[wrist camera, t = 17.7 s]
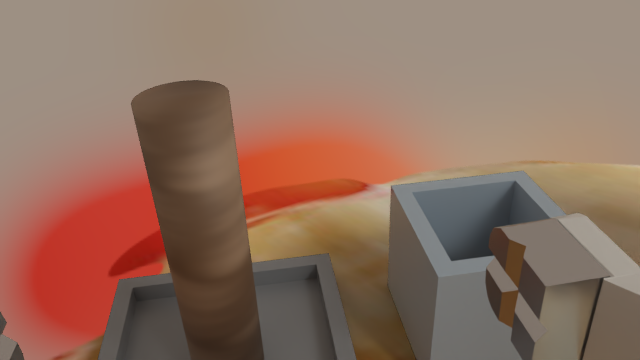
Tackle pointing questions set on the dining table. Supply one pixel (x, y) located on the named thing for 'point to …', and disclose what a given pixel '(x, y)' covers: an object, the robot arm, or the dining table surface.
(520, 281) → the robot arm
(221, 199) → the walnut dowel
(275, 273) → the tray
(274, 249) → the dining table surface
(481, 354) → the grey open-top box
